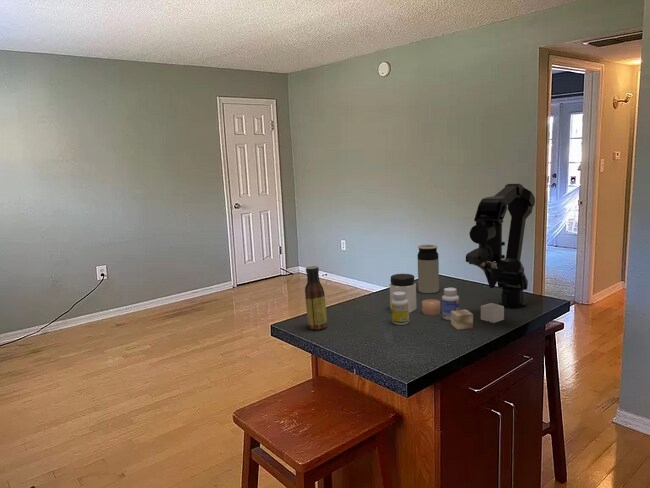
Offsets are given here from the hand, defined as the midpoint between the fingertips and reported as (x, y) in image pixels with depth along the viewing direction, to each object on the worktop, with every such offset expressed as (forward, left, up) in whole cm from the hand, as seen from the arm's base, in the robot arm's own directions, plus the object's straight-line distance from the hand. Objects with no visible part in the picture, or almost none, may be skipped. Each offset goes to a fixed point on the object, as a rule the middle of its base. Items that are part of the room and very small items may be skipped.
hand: (491, 287), depth 156 cm
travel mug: (-3, -39, -11) cm, 41 cm away
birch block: (+12, 0, -11) cm, 16 cm away
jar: (+18, -24, -11) cm, 32 cm away
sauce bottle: (+51, -23, -11) cm, 57 cm away
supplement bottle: (+26, -13, -11) cm, 31 cm away
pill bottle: (+10, -8, -11) cm, 17 cm away
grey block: (0, 0, -11) cm, 11 cm away
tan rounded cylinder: (+12, -16, -11) cm, 23 cm away
